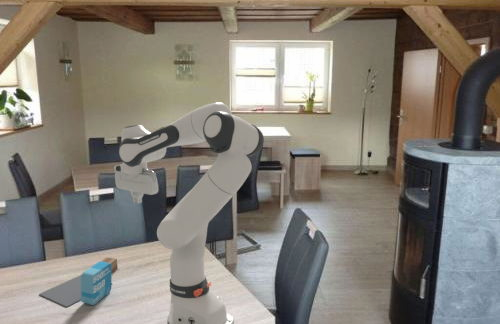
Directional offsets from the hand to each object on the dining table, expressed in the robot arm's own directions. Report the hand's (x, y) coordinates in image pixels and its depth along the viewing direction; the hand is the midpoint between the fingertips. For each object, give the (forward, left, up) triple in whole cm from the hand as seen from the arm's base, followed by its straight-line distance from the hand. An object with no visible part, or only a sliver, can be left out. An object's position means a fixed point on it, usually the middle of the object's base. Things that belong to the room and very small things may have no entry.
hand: (137, 202), depth 162 cm
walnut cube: (+18, +2, -33) cm, 37 cm away
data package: (+4, +19, -32) cm, 38 cm away
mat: (+16, +19, -32) cm, 41 cm away
